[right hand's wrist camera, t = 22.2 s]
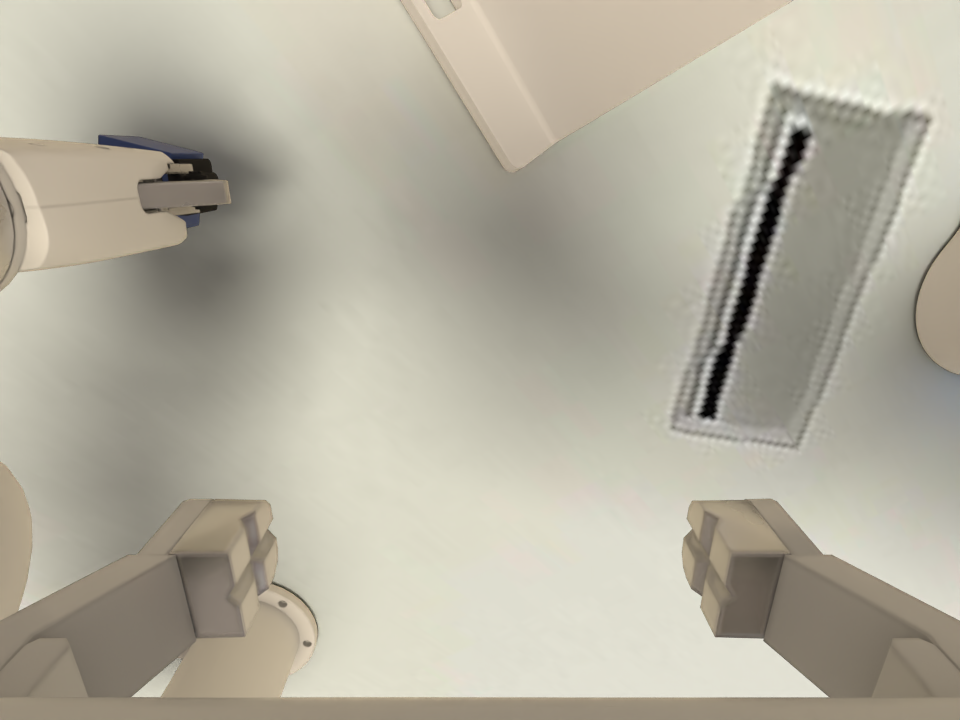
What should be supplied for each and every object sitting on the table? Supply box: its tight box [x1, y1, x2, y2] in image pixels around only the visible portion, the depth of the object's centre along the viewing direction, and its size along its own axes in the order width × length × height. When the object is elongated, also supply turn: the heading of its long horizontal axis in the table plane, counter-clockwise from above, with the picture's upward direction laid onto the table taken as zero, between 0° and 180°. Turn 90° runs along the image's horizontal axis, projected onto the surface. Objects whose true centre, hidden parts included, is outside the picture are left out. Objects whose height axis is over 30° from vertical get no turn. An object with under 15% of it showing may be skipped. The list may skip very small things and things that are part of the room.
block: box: [98, 135, 203, 228], centre depth 34 cm, size 4×5×4 cm
